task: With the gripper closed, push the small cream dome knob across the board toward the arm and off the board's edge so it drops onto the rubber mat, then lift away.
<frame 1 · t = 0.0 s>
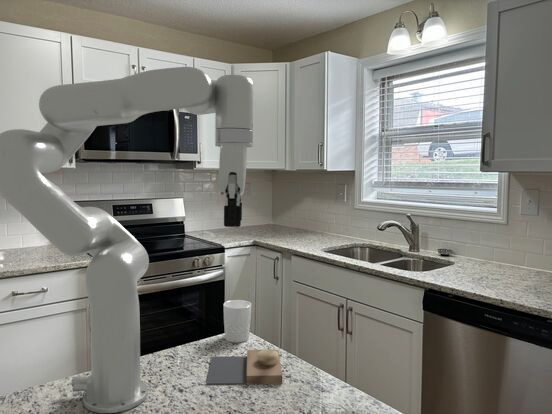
hand: (233, 223, 88), 37 cm above the countertop, tool pointing down, fingers open, 9 cm apart
rubber mat: (228, 370, 103), on the countertop
cream dome knob: (267, 361, 103), point 2 cm above the countertop, touching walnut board
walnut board: (263, 369, 103), on the countertop
white cup: (237, 338, 123), on the countertop
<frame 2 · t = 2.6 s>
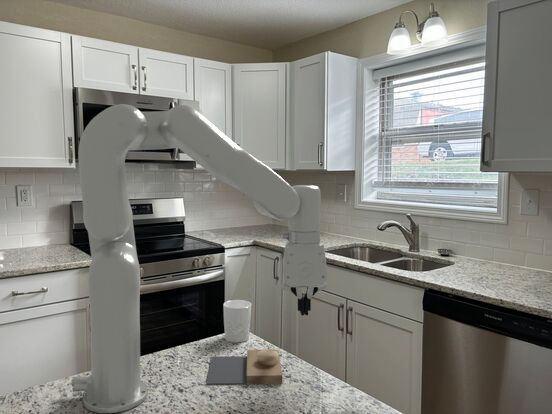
hand: (304, 313, 103), 14 cm above the countertop, tool pointing down, fingers closed
nothing on the countertop moved.
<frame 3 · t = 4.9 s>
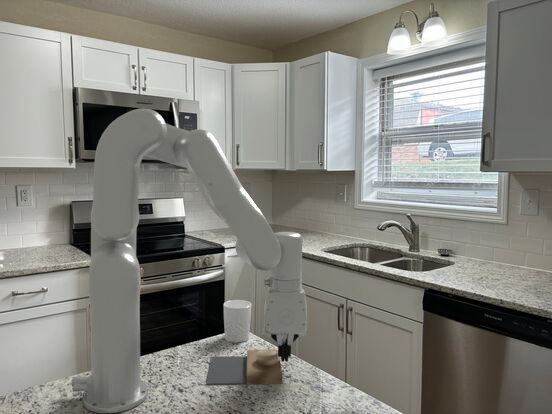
hand: (284, 359, 103), 3 cm above the countertop, tool pointing down, fingers closed
cream dome knob: (266, 361, 103), point 2 cm above the countertop, touching gripper, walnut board
everything else where it was.
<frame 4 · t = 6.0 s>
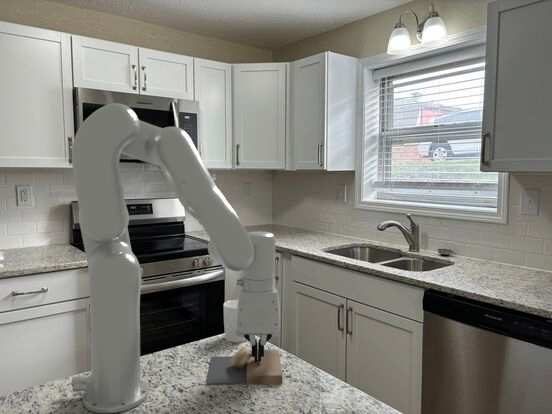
hand: (257, 359, 103), 3 cm above the countertop, tool pointing down, fingers closed
cream dome knob: (243, 360, 104), point 2 cm above the countertop, tilted 40°, touching gripper
everything else where it was.
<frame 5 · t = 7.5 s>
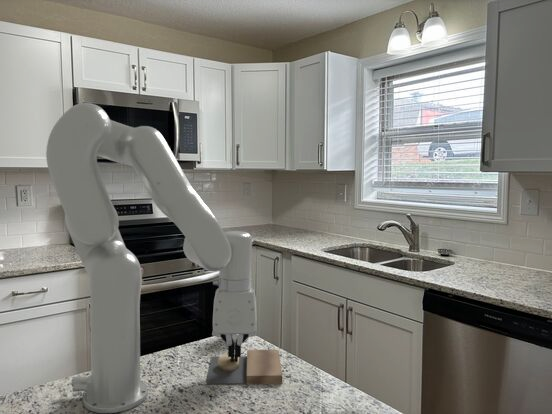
hand: (234, 359, 103), 3 cm above the countertop, tool pointing down, fingers closed
cream dome knob: (228, 366, 104), resting on rubber mat
everything else where it was.
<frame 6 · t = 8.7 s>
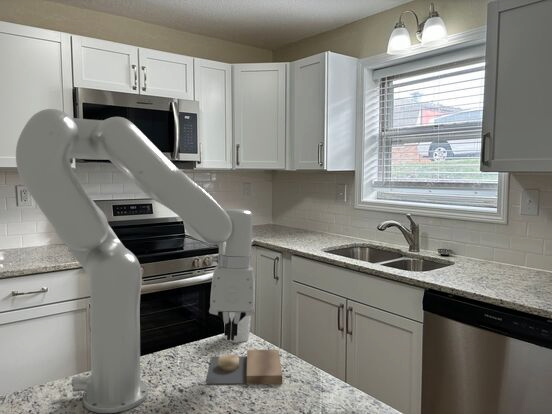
hand: (230, 338, 102), 8 cm above the countertop, tool pointing down, fingers closed
nothing on the countertop moved.
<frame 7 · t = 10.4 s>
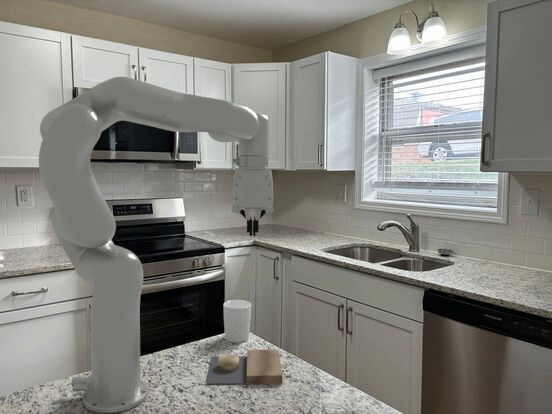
hand: (252, 235, 111), 31 cm above the countertop, tool pointing down, fingers closed
nothing on the countertop moved.
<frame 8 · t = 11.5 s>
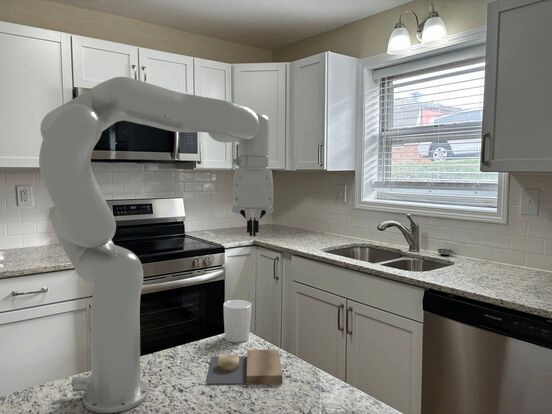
hand: (252, 235, 111), 31 cm above the countertop, tool pointing down, fingers closed
nothing on the countertop moved.
at the end: cream dome knob inside the target area (1.1 cm from its centre), resting on rubber mat; cream dome knob touching rubber mat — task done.
